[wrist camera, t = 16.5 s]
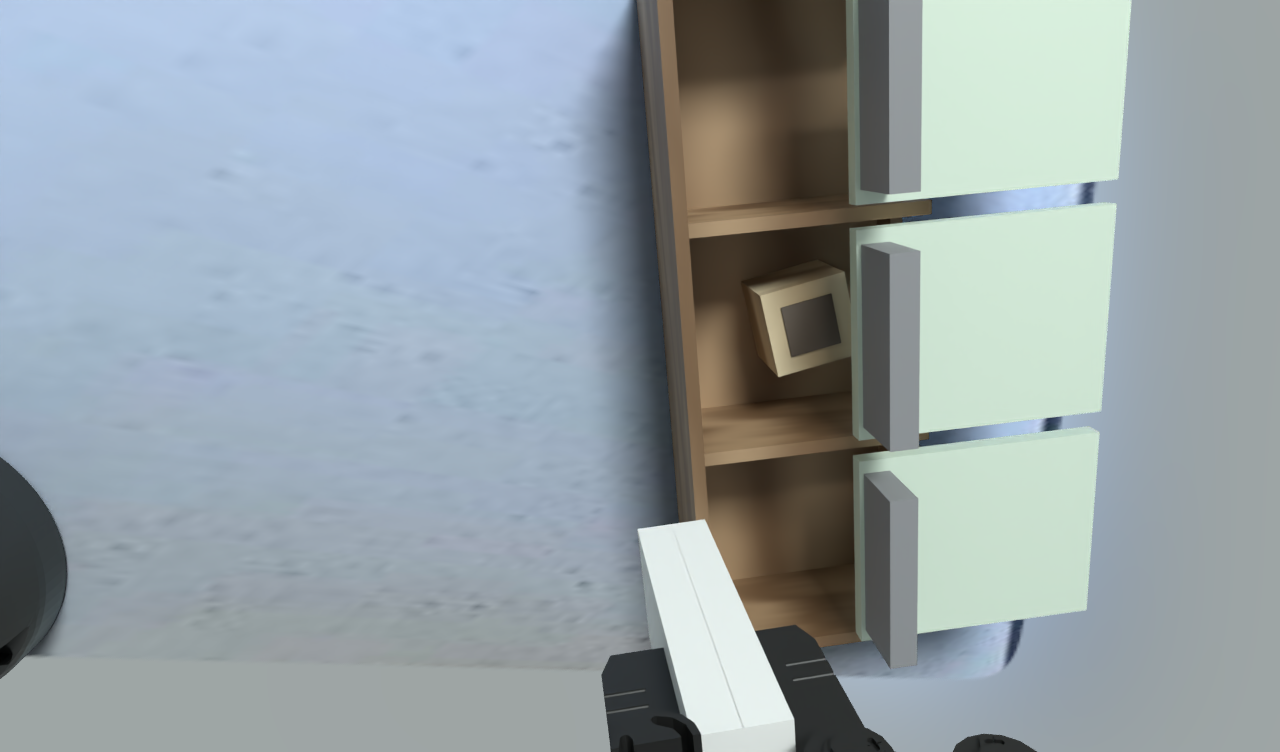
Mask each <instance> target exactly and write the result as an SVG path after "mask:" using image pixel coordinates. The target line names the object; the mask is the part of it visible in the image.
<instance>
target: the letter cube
mask: <svg viewBox="0 0 1280 752" xmlns="http://www.w3.org/2000/svg"><path fill="white" fill-rule="evenodd" d="M741 284H742V289H743V293H744V297H745V302H746V306H747V310H748V315H749V319H750V323H751V327H752V332H753V336H754V340H755V345H756V349H757V353H758V356H759V357H760V358H761V359H762V360H763V361H764V362H765V364H766V365H767V366H768V367H769V368H770V369H771V370H772V371H773V372H774V373H775V374H776V375H777V376H778V377H781V376H784V375H788V374H791V373H795V372H798V371H802V370H805V369H809V368H812V367H816V366H819V365H822V364H826V363H829V362H833V361H836V360H840V359H843V358H847V357H850V356H851V303H850V298H849V293H848V288H847V283H846V278H845V272H844V271H842V270H839V269H837V268H835V267H833V266H830V265H828V264H826V263H824V262H822V261H819V260H814V261H811V262H807V263H804V264H800V265H797V266H793V267H790V268H786V269H783V270H779V271H776V272H772V273H769V274H765V275H762V276H758V277H755V278H751V279H748V280H744V281H741Z"/></svg>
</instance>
